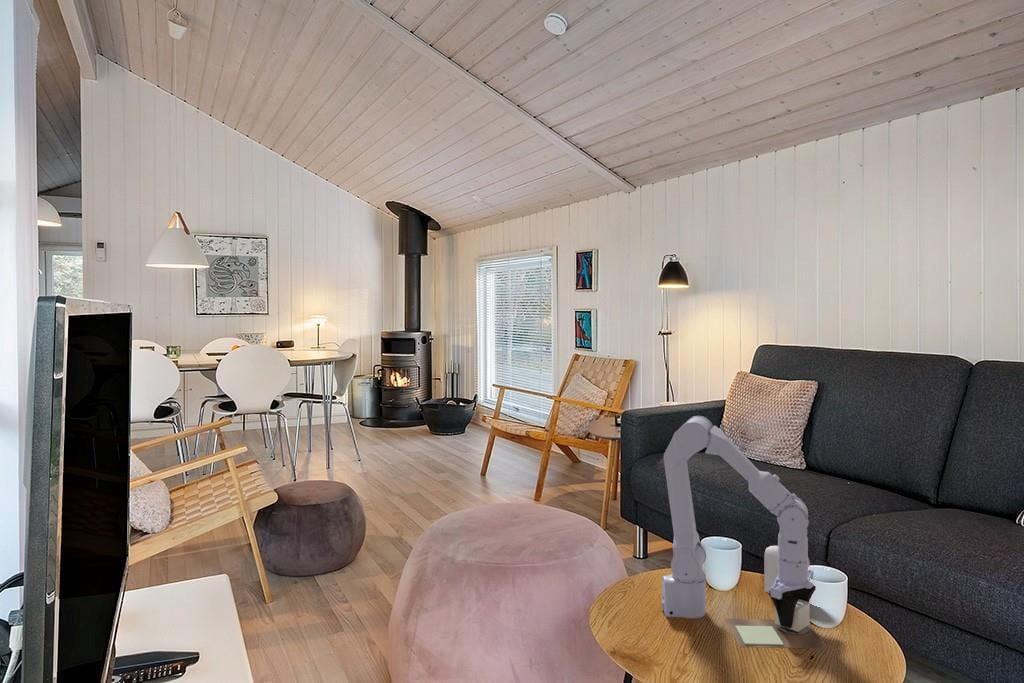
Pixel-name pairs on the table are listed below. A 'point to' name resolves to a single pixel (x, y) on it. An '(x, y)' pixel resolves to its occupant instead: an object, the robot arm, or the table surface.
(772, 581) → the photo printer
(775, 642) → the mat
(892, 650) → the table surface
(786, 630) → the post
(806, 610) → the slotted tissue box
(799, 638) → the board
